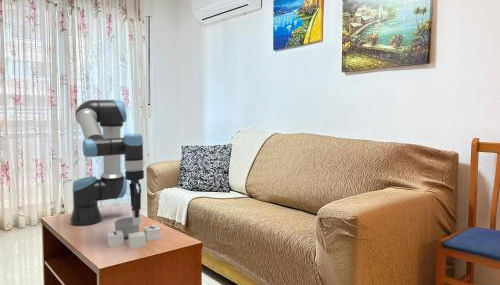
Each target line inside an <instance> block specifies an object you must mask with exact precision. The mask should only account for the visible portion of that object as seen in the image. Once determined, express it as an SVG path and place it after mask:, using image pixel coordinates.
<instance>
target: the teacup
mask: <svg viewBox="0 0 500 285" xmlns="http://www.w3.org/2000/svg"><path fill="white" fill-rule="evenodd" d="M114 228H115V231H122V233H123V235H124V239H127V238H128V234H129V233H135V232H140V230H139V229H140V224H139V225H133V216H126V217H121V218H118V219H116V220H114Z"/></svg>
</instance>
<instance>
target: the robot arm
mask: <svg viewBox="0 0 500 285" xmlns="http://www.w3.org/2000/svg"><path fill="white" fill-rule="evenodd" d="M74 117H75V121H76V122H77V124H78V125H79V126H80V129H81V131H82V134H83V137H84V138H83V139H84V140H82V154H83V156H84V157H86V158H88V157H89V158H91V157H92V158H95V157H103V161H102V162H103V163H102V164H103V172H102V173H101V175H100V178H97V177H96V176H86V177H82V178H79V179H76V180H74V181H73V183H72V198H73V211H72V214H71V217H70V225H72V226H75V227H76V226H80V227H81V226H89V225H95V224H97V223H100V222H101V221H102V220H103V219H102V218H103V217H102V214H101V213H102V212H100V209H99V206H98V205H99V204H98V202H99V201H107V200H116V199H122V198H124V197H125V196H126V193H127V187H129V193H130V194H129V195H130V207H131V211H132V217H133V225H139V226H140V225H141V212H140V210H141V209H142V208H141V202H142V201H141V200H142V199H141V198H142V186H141V183H140V180H143V179H144V178H145V173H144V172H145V171H144V170H143V169H144V164H145V161H144V149H143V148H144V147H143V146H144V140H143V135H142V134H141V133H125V134H124V135H123V137H121V129H122V127H123V126H124V123H126V122H127V117H128V116H127V110H126V106H125V104H124V102H123V101H122V100H118V99H90V100H87V101H84V102H83V103H81V104H80V105H79V106H78V107H77V109H76V110H75V116H74ZM101 129H102V130H101ZM123 155H124V169H125V172H124V173H122V172H121V156H123ZM124 174H125V176H124ZM127 181H130V183H129V186H128V182H127Z"/></svg>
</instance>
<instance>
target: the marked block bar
mask: <svg viewBox="0 0 500 285" xmlns="http://www.w3.org/2000/svg"><path fill="white" fill-rule="evenodd" d="M106 238H107V239H106V243H107V246H108V248H115V247H116V248H117V247H123V246H124V245H125V243H124V242H125V241H124V240H125V238H124V235H123V233H122V231H116V230H115V231H110V232H107V233H106Z"/></svg>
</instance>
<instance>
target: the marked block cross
mask: <svg viewBox="0 0 500 285" xmlns="http://www.w3.org/2000/svg"><path fill="white" fill-rule="evenodd" d="M143 233H144V234H145V235H146V242H151V241H156V240H161V239H162V236H161V235H162V234H161V233H162V232H161V227H159V225H157V224H155V225H148V226H144V227H143Z"/></svg>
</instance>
